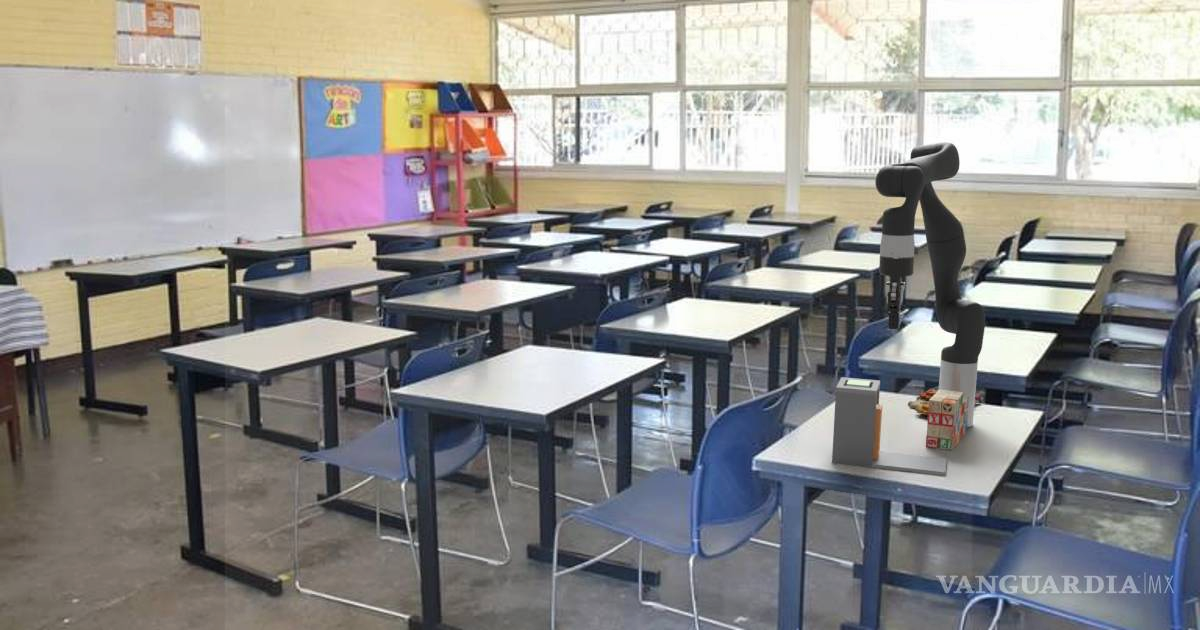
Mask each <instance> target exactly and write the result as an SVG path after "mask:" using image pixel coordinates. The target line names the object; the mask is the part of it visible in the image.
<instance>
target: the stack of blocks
mask: <svg viewBox="0 0 1200 630" xmlns="http://www.w3.org/2000/svg"><path fill="white" fill-rule="evenodd" d="M963 393H964V392H958V391H948V390H941V389H939V390H938V391H937V392H936V394H935V395H933V397H931V398H930V399H929V409H928V415H927V422H926V423H927V424H926V425H927V427H926V428H927V430H926V439H925V447H926V448H930V447H932V448H931V449H936V448H938V450H943V449H945V450H944V451H949V452H950V451H951V450H953V449H954V448H956V446H957V445H958V443H959V441H960V440H961V438H962V437H963V436H964V435H965V433H966V432H967V430H968V427H967V419H968V400H969V396H963ZM956 444H957V445H956Z"/></svg>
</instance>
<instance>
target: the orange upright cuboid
mask: <svg viewBox="0 0 1200 630" xmlns="http://www.w3.org/2000/svg"><path fill="white" fill-rule="evenodd" d="M882 416H883V404H880V403H879V404H876V419H875V435H874V451H873V459H877V460H878V457H879V451H881V450H880V449H881V447H880V446H881V433H882V431H881V430H882V418H883V417H882Z"/></svg>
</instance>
